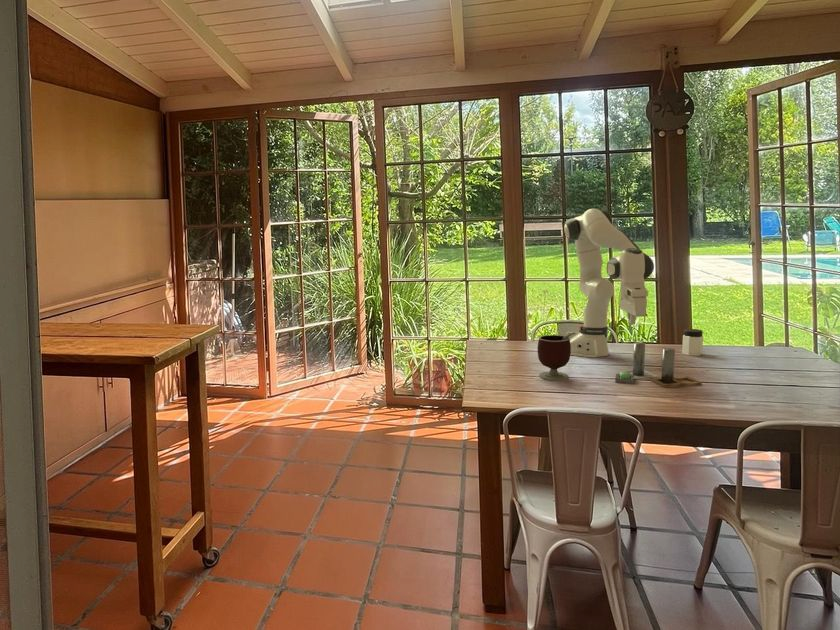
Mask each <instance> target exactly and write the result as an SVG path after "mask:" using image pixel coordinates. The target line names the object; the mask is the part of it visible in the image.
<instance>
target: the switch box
mask: <svg viewBox="0 0 840 630" xmlns="http://www.w3.org/2000/svg"><path fill="white" fill-rule="evenodd" d="M634 377H635V375H633V374H630V378H620V373H615V377H614V378H615V380H614V382H615V383H617V384H629V385H634V384H635V379H634Z"/></svg>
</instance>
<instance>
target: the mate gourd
mask: <svg viewBox="0 0 840 630" xmlns="http://www.w3.org/2000/svg"><path fill="white" fill-rule="evenodd" d="M573 335H576V331H574V332H570V333H568V334H566V335H561V334H560V335H559V334H557V335H556V334H548V335H547V334H546V335H541V336H539V337H538V342H537V357H538V360H539V362H540V364H541V365H542V366H544V367H546V368H549V369H550V370H549V371H543V372H540V373H539V374H538V377H539V378H540V379H543V380H546V381H557V382H558V381H565V380H568V379H569V374H568V373H565V372H562V371H558V369H560V368H563V367H566V366H567V364H568V363H569V361H570V358H571V355H570V354H571V344H570V339H571V338H570V337H571V336H573Z"/></svg>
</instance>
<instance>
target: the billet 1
mask: <svg viewBox="0 0 840 630" xmlns="http://www.w3.org/2000/svg"><path fill="white" fill-rule="evenodd" d="M645 355H646V343H645V342H639V341H638V342H634V343H633V354H632V356H633V359H632V370H633V372H632V375H634V377H644V376H645V372H644V370H645V361H646V360H645V358H646V356H645Z"/></svg>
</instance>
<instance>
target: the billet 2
mask: <svg viewBox="0 0 840 630" xmlns="http://www.w3.org/2000/svg"><path fill="white" fill-rule="evenodd" d="M661 353H662V356H661V357H662V358H661V375H660V376H661V377H660V378H661V382H662V383H664V384H670V383H673V379H674V377H675V375H674V374H675V359H676V358H675V355H676V349H675V348H671V347H670V348H669V347H664V348H662V352H661Z"/></svg>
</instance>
